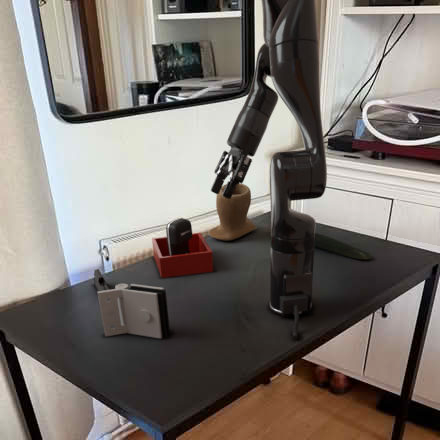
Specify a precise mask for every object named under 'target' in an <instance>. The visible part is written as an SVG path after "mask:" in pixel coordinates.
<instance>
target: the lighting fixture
mask: <svg viewBox="0 0 440 440" xmlns="http://www.w3.org/2000/svg"><path fill="white" fill-rule="evenodd" d="M93 276H94V277H93V281H94V286H95V287H96V289H97V292H99V291H105V290H110V288H109V287H108V285H107V283H106V279H105V277H104V275H103V273H102V272H101V270H100V268H99V269H98V268H97V269H94V273H93ZM106 301H107V302H109V301H110V299H109V298H107V299H106Z"/></svg>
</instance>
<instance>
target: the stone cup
mask: <svg viewBox="0 0 440 440" xmlns="http://www.w3.org/2000/svg"><path fill="white" fill-rule="evenodd" d="M226 185H227V183H225V184H223V185H222V187H221V190H220V192H219V194H216V197H215V198H216V200H215V204H216V205H215V206H216V207H215V208H216V213H217V216H218V219H219V225H217V226H216V227H213V228H212V229H210V230H209V231H208V235H209V236H210V237H211V238H213V239H215V240H220V241H226V242H227V241H233V240H235V239H239V238H241V237H243V236H245V235H247V234H249V233H251V232H253V231H255V230H256V229H257V226H256V224H254V223H253V221H252V220H250V219H249V217H248V213H249V210H250V207H251V203H252V192H251V189H250V187H249V186H248V185H246V184H244V183H239V184H238V185H237V186H236V188H235V190H234V192H233V194H232V197H231V199H227V198H225V197H223V196H222V194H223V191H224V189H225V187H226Z"/></svg>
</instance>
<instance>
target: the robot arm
mask: <svg viewBox="0 0 440 440" xmlns="http://www.w3.org/2000/svg"><path fill="white" fill-rule="evenodd" d="M261 7H262V9H261V10H262V30H263V31H262V36H263V41H264V42H263V44H262V45H261V46H260V47H259V49H258V52H257V57H256V59H255V60H256V61H255V67H254V74H253V78H252V81H251V82H252V83H251V86H250V89H249V92H248V95H247V97H246V99H245V101H244V103H243V105H242V108H241V109H240V111H239V113H238V115H237V117H236V120H235V121H234V123H233V126H232V129H231V130H230V133H229V135H228V138H227V140H226V144H227V145H228V146H229V147H230V149H229V151H227V150H223V152H222V154H221V156H220V158H219V160H218V163H217V165H216V167H215V169H214V174H215V179H214V180H213V183H212V185H211V188H210V192H212V193H213V194H215V195H217V194H219V192H220V190H221V187H222V186H224V183H225V180H226V179H227V178H228V181H227V182H226V184H227V185H226V187H225V189H224V191H223V194H222V196H223V197H225V198H227V199H231V197H232V194H233V192H234V190H235V188H236V186H237V185H238V184H239V183H241V184H244V181H245V179H246V176H247V174H248V171H249V169H250V167H251V164H252V162H253V159H252V158H253V157H254V156H255V155H256V153H257V151H258V148H259V147H260V144H261V142H262V140H263V137H264V136H265V133H266V131H267V128H268V125H269V122H270V119H271V117H272V116H273V115H272V114H273V113H274V110H275V108H276V106H277V104H278V101H279V97H280V98H281V100H282V102H283V103H284V104H285V106H286V108H287V109H288V110H289V111H290V114H291V115H292V116H293V118H294V120H295V122H296V123H297V126H298V128H299V130H300V134H301V137H302V142H303V148H304V149H298V150H297V149H296V150H284V151H277V152H275V153H274V154H272V156H271V159H270V162H269V193H270V194H269V195H270V197H269V198H270V270H269V271H270V277H269V278H270V279H269V281H270V283H269V284H270V285H269V286H270V287H269V309H270V311H272V312H273V313H274V314H277V315H278V316H279V315H280V316H282V317H283V318H290V317H294V322H293V326H292V338H293V340H297V339H298V338H299V335H298V328H299V323H300V316H305V315H311V310H312V306H313V303H312V301H313V300H312V299H313V298H312V297H313V279H314V259H315V247H314V246H315V233H316V228H317V225H316V224H317V223H316V220H315V218H314V217H313V216H311V215H309V214H308V213H304V212H300V211H298V210H295V209H293V208H291V207H290V202H291V201H292V202H293V201H304V200H313V199H314V200H315V199H320V198H321V197H322V196H323V195H324V194H325V191H326V189H327V184H328V183H327V182H328V168H327V167H328V166H327V156H326V148H325V140H324V139H325V138H324V131H323V121H322V110H321V83H320V82H321V81H320V48H319V46H320V45H319V35H318V33H319V32H318V20H317V18H318V17H317V8H316V7H317V3H316V0H261ZM268 77H269V78H270V79H271V82H272V86H273V87H274V89H273V88H272V87H271V86H269V85H268V84H267V78H268ZM251 157H252V158H251Z"/></svg>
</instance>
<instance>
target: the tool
mask: <svg viewBox="0 0 440 440" xmlns="http://www.w3.org/2000/svg"><path fill="white" fill-rule="evenodd" d="M314 248H317V249H320V250H322V251H326V252H330V253H334V254H337V255H341V256H344V257H348V258H351V259H352V258H353V259H356V260H357V259H358V260H363V261H365V260H367V261H368V260H370V259H372V257H373V256H372V254H370V253H368V252H367V251H364V250H362V249H360V248H358V247H354V246H352V245H350V244H348V243H345V242H343V241H340V240H338V239H335V238H333V237H330V236H327V235H323V234H321V233H318V232H315V246H314Z"/></svg>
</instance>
